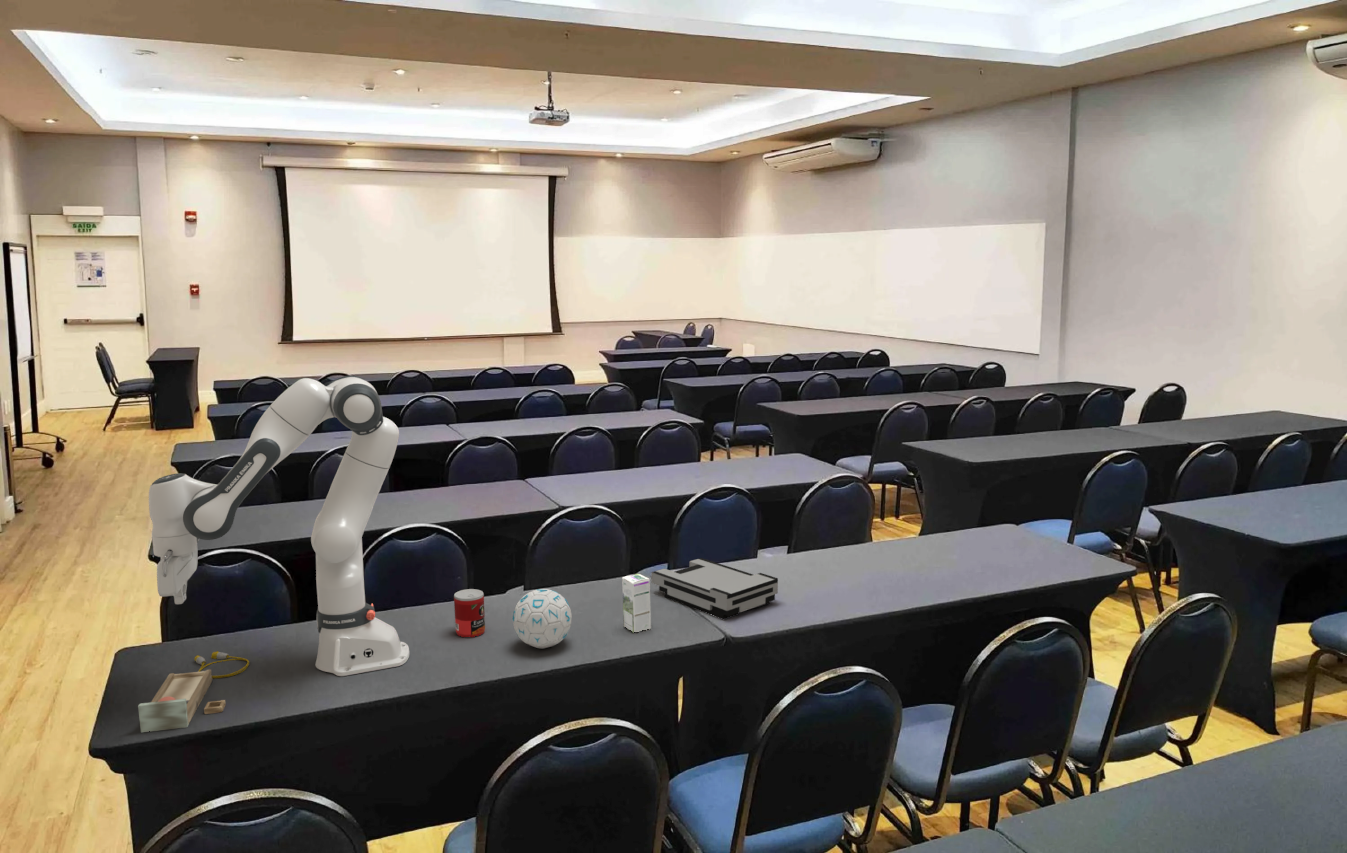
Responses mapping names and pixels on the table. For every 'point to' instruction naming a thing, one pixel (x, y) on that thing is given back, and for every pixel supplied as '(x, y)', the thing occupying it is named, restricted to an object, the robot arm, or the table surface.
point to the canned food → (469, 612)
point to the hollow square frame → (214, 707)
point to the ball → (167, 699)
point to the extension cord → (220, 655)
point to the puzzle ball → (542, 618)
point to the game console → (716, 588)
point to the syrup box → (636, 602)
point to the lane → (175, 701)
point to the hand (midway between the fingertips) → (180, 601)
